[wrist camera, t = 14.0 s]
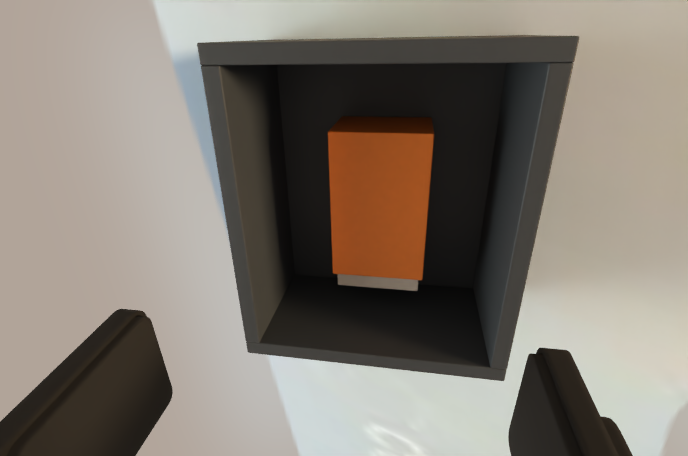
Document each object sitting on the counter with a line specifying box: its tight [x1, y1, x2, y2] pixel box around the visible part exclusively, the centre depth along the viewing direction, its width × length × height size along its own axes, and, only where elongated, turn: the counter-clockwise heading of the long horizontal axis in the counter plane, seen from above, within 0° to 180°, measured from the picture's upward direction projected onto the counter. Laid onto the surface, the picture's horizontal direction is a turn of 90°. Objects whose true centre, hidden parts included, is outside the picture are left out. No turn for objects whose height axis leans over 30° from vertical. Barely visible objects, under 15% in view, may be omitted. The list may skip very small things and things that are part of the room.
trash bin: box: [197, 35, 579, 381], centre depth 21 cm, size 16×14×8 cm
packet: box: [328, 116, 434, 291], centre depth 22 cm, size 9×5×4 cm, turn 1°
